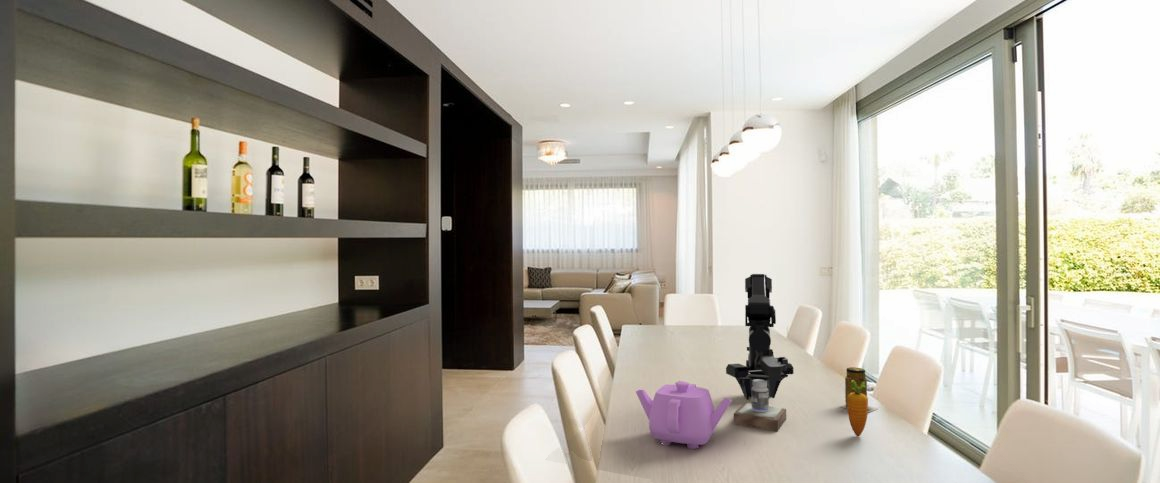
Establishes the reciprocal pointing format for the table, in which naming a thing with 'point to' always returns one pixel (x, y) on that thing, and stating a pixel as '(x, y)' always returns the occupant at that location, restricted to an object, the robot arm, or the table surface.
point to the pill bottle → (760, 396)
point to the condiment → (858, 377)
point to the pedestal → (760, 417)
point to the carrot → (857, 408)
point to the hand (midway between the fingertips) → (760, 398)
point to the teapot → (682, 414)
